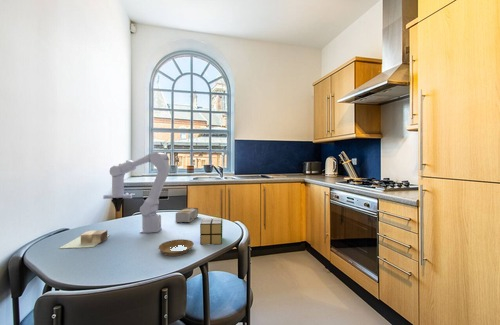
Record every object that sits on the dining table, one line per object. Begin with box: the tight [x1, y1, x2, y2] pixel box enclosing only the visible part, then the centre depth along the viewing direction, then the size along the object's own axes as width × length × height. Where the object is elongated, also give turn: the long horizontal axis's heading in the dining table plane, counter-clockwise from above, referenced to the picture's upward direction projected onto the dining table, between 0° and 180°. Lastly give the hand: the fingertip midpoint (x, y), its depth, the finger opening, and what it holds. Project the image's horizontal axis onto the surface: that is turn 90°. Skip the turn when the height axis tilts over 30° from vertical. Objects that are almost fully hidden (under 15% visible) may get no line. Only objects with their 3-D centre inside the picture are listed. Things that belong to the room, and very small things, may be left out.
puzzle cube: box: [199, 217, 223, 246], centre depth 113 cm, size 10×10×10 cm
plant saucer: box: [158, 238, 195, 257], centre depth 101 cm, size 15×15×3 cm
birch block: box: [80, 229, 108, 244], centre depth 112 cm, size 4×6×9 cm
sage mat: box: [58, 234, 111, 250], centre depth 111 cm, size 14×16×1 cm
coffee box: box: [174, 207, 199, 223], centre depth 151 cm, size 9×6×16 cm
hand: (118, 211), depth 130 cm, fingers closed
